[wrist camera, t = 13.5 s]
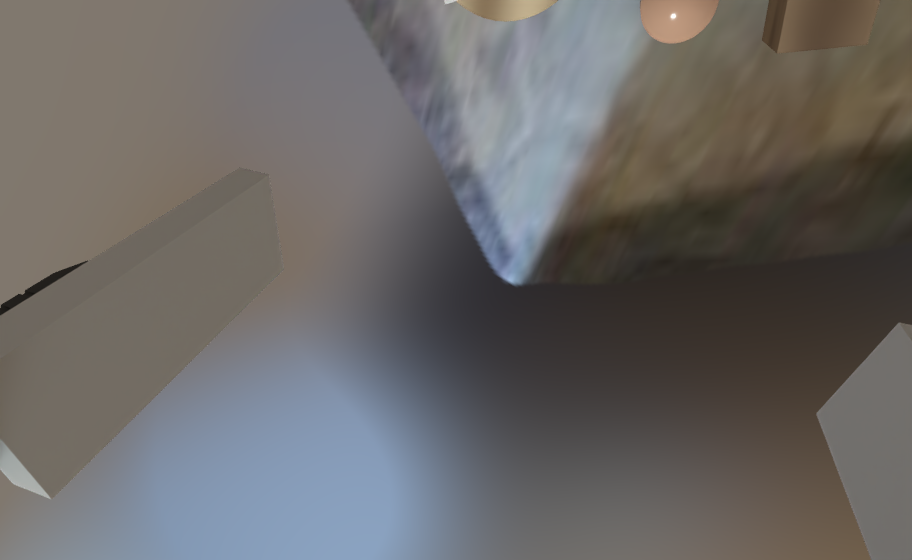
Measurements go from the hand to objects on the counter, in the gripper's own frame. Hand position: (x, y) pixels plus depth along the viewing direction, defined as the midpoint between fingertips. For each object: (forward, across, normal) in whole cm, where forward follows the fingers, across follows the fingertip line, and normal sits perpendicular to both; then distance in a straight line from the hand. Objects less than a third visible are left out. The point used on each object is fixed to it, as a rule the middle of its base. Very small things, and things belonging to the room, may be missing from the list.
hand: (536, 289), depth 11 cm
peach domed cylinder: (+32, -4, -3) cm, 32 cm away
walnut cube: (+32, -12, -4) cm, 34 cm away
